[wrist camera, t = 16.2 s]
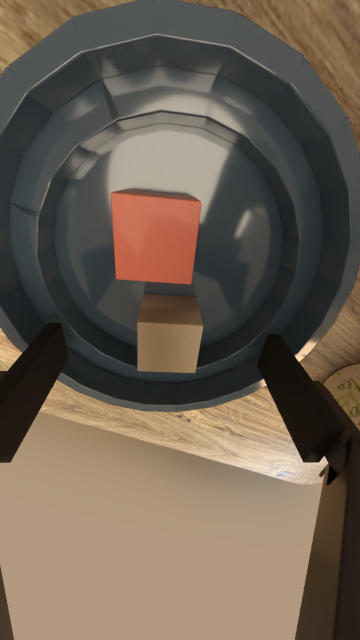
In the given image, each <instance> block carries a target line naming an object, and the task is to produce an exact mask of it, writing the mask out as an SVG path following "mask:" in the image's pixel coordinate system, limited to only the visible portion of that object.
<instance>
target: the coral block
mask: <svg viewBox="0 0 360 640" xmlns="http://www.w3.org/2000/svg"><path fill="white" fill-rule="evenodd" d="M201 205H202V202H201V201H200V200H198V199H196V198H195V197H193V196H187V195H178V194H168V193H158V192H149V191H139V190H130V189H124V190H120V191H115V192H111V206H112V222H113V239H114V256H115V272H116V279H120V280H135V281H149V282H163V283H178V284H191V283H192V275H193V267H194V259H195V251H196V244H197V236H198V228H199V220H200V212H201Z"/></svg>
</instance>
